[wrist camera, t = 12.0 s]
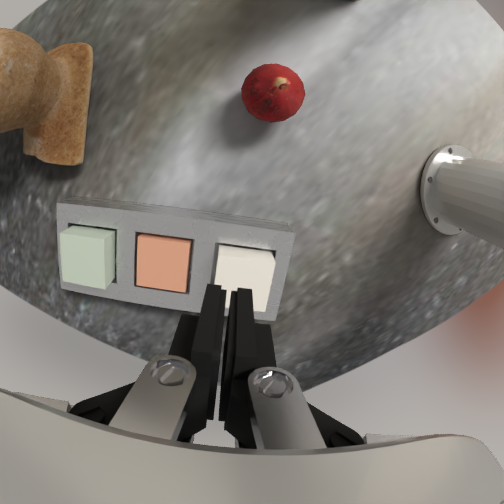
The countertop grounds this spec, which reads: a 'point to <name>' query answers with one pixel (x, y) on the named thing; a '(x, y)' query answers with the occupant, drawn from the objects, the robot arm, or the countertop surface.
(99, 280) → the sage key
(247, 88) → the onion
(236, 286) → the cream key
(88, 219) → the keypad housing
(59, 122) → the brown hollow boot-shaped piece
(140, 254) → the terracotta key
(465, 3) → the countertop surface
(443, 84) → the countertop surface
